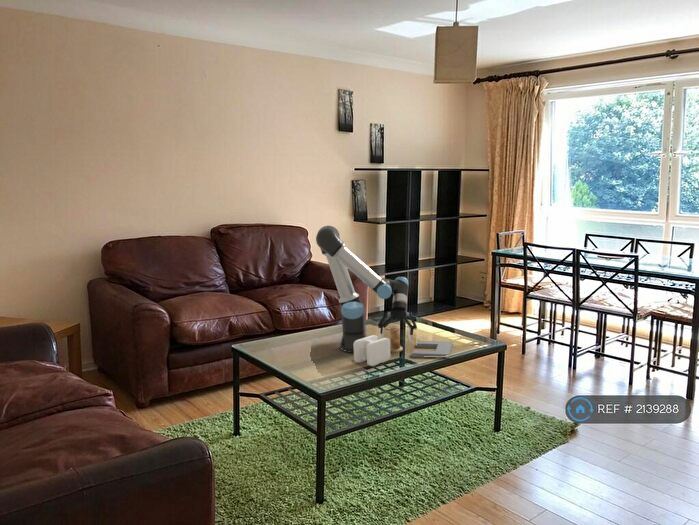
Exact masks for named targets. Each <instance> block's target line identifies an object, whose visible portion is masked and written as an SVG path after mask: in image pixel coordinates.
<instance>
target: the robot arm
mask: <svg viewBox="0 0 699 525" xmlns="http://www.w3.org/2000/svg"><path fill="white" fill-rule="evenodd" d="M315 242H316V245H317V247H318V248H320V251H321V255H323V256H325V257H326V260H327V263H328V266H329V269H330V272H331V275H332V277H333V281H334V284H335V286H336V289H337V291H338V295H339V299H338V304H339V306H340V313H341V326H342V336H341V339H340V343H339V345H340V346H339V347H341V348H342V349H343V350H346V351H351V352H350V353H354V346H353V344H354V342H355V341H356V340H359V339H362V338H365V337H367V334H366V326H365V322H366V321H365V306H364V303H363V302H362V300H361V296H360V294H359V293H357V292H356V291H355V288H354V285H353V282H352V279H351V276H350V273H349V271H350V272H352V273H353V274H354V275H355V277H357V278H358V279H359V280H361V281H362V282H363V283H364V284H365V285H367V287H369V288H370V289H371V290H372V291H374V293H375V294H376V295H377V297H378V298H380V299H382V300H387V299H389V298H390V297H391V295H393V297H392V306H391V311H388V310H385V313H384V315H383V316H382V317H381V319H380V320H379V322H378V323H377V328H378V329H380V332H379V333H380V335H381V339H383V338H385V336H386V335H385V333H386V328H387V326H389V325H390V324H391V323H392V322H393V321H394V320H395V321H403V322H404V323H405V324H406V325H407V326H408V334H407V335H408V336H407V340H408V342H409V343H410V342H411V337H412V336H413V335H414V330H417V329H418V326H417V323H416V321H415V320H414V317H413V314H412V311H411V310H409V311H407V304H408V295H409V294H408V293H409V280H408V278H406V277H405V276H398V277H396V278H395V279H389V278H386V277H385V278H383V277H381V276H379V275H378V274H377V273H376V272H375V271H374V270H372V269H371V268H370V267H369V266H368V265H367V264H366V263H365V262H363V260H361V259H360V258H359V257H358V256H356V254H354V253H353V252H352V251H351V250H350V249H349V248H348V247H346V243H345V242H344V241H343V240H341V238H340V232H339V230H338V229H337V228H336V227H334V226H332V225H324V226H322V227H321V228H319V230H318V231H317V234H316V236H315ZM348 270H349V271H348ZM406 316H407V317H409V318H410V321H411V322H410V321H409V320H408V319H407V317H406ZM388 317H389V318H388Z"/></svg>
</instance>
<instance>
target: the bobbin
mask: <svg viewBox="0 0 699 525" xmlns="http://www.w3.org/2000/svg"><path fill="white" fill-rule="evenodd" d="M389 329H390V353H400V352H402V351H403V346H401V342H400V341H401V336H400V333H401V332H400V326H397V325H394V326H393V325H392V326H390V328H389Z"/></svg>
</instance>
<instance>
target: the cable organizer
mask: <svg viewBox="0 0 699 525" xmlns="http://www.w3.org/2000/svg"><path fill="white" fill-rule="evenodd" d="M353 346H354V352H353V360H354V362H356V363H361V364H362V363H364V362H366V363H367V365H368V366H371V367H375V366H377V365H379V364H381V363H382V364H383V363H385V362H388V360H390V358H391V352H390V347H391V339H389V338H388V337H384V338H383V339H382V338H380V339H379V336H377V335H375V334H372V335H368V336H366V337H365V338H362V339H359V340H356V341H355V342H354V344H353Z"/></svg>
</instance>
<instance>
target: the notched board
mask: <svg viewBox="0 0 699 525" xmlns="http://www.w3.org/2000/svg"><path fill="white" fill-rule="evenodd" d="M453 343H454V342H453V341H439V340H435V341H434V340H432V341H431V340H430V341H429V340H418V341H416V348H429V349H430V348H431V349H432V348H433V349H434V348H435V350H415V349H414V350H412V353H411V358H424V356H446V355H449V354H450V352H452V350H451V349H453V347H452V346H453V345H454V344H453ZM450 355H451V354H450Z"/></svg>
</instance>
